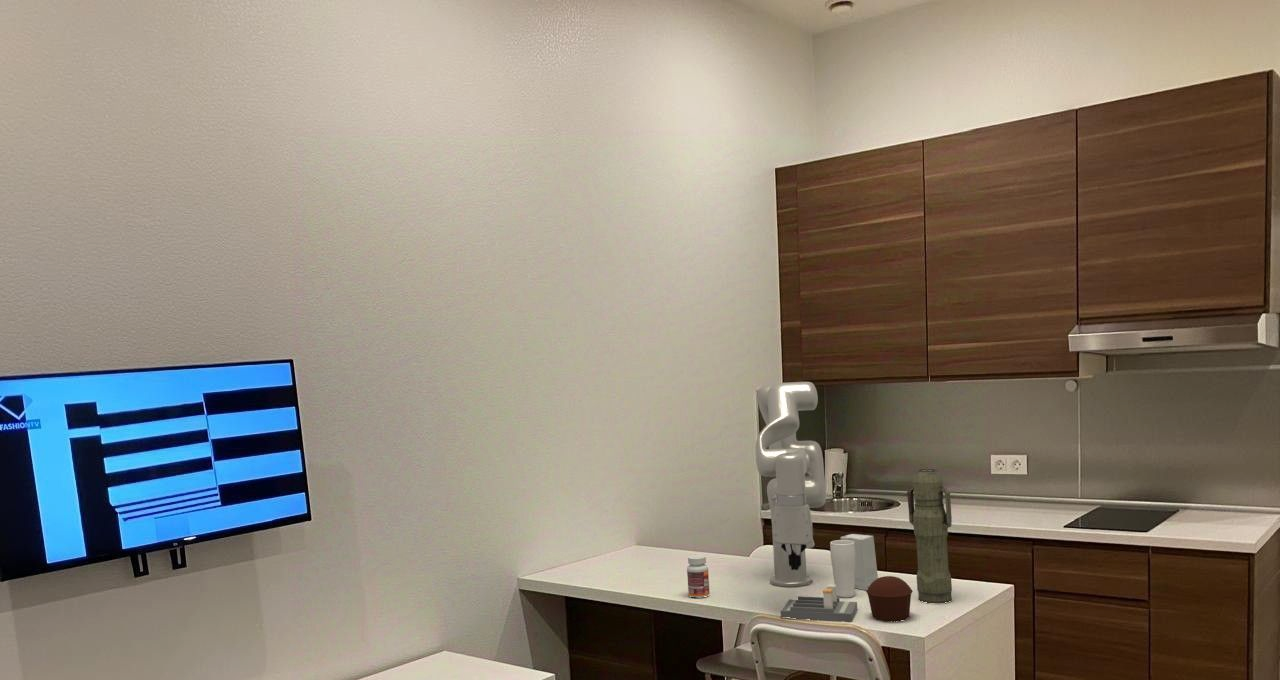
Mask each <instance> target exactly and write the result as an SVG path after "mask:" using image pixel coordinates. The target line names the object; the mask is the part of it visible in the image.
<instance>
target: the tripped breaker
mask: <svg viewBox="0 0 1280 680" xmlns="http://www.w3.org/2000/svg"><path fill="white" fill-rule="evenodd" d="M822 597H823V599H824V608H833V589H827V588H824V589H823V590H822Z"/></svg>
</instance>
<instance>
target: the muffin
mask: <svg viewBox="0 0 1280 680" xmlns="http://www.w3.org/2000/svg"><path fill="white" fill-rule="evenodd" d="M865 591H866V594H867V597H868V602H869V606H870V611H871V615H872V618H874V619H875V620H876V621H879V622H883V623H897V622H896V621H899V622H902V621H901V620H905V621H907V620H908V619H909V618H910V610H911V602H912V601H911V599H912V593H913V590H912V587H911V586H910V585H909V584H908V583H907V582H906V581H905V580H903V579H902V578H900V577H897V576H892V575H887V576H880V577H878V579H876V580H875V581H873V582H872V583H871V585H870V586H869V588H868V589H867V590H865ZM908 617H909V618H908ZM907 618H908V619H907ZM891 621H892V622H891ZM894 621H895V622H894Z"/></svg>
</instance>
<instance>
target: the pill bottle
mask: <svg viewBox="0 0 1280 680" xmlns="http://www.w3.org/2000/svg"><path fill="white" fill-rule="evenodd" d="M687 560H688V562H687V563H688V564H689V565H688V566H687V567H686V573H687V590H688V592H687V593H688V596H691V597H704V596H708V595H709V594H710V593H711V592H710V579H709V577H710V576H709V567H708V565H706V563H707V558H706V556H705V555H703V554H701V555H700V554H695V555H693V554H692V555H690V556H687ZM709 596H710V595H709ZM709 596H708V597H709ZM691 597H690V598H691Z"/></svg>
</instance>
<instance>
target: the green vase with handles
mask: <svg viewBox="0 0 1280 680" xmlns="http://www.w3.org/2000/svg"><path fill="white" fill-rule="evenodd" d="M912 484H913V485H912V486H910V487H908V490H907V491H906V495H907V506H908V517H909V518H908V521H909V523H910V524H911V525H912V526H913V535H914V536H915V541H916V555H917V569H918V570H917V573H916V589H917V592H918V601H919V600H920V601H919V602H921V601H923V602H927V603H926V604H929V603H945V602H949V601H951V600H952V601H953V597H952V591H953V589H952V588H953V587H952V584H953V583H952V575H951V572H950V570H949V557H948V541H947V539H948V535H949V528H951V527H952V523H953V522H952V521H953V520H952V516H953V515H952V504H951V503H952V502H951V492H950V491H949V489H948V488H947V487H944V486H943V480H942V476H941V474H940V471H939V470H937V469H934V468H921V469H918V470H917V471H915V473H914V476H913V482H912ZM944 495H945V496H944ZM944 497H945V498H944ZM944 499H945V500H944ZM914 500H915V501H914ZM944 501H945V505H944ZM952 601H951V602H952ZM923 602H922V603H923ZM949 603H950V602H949ZM945 604H946V603H945Z"/></svg>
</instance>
